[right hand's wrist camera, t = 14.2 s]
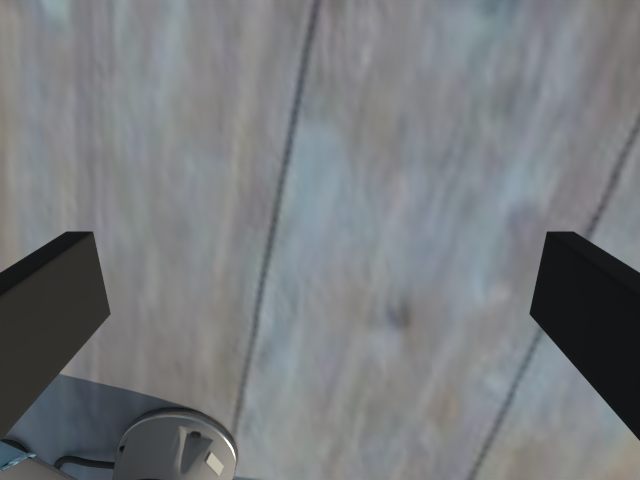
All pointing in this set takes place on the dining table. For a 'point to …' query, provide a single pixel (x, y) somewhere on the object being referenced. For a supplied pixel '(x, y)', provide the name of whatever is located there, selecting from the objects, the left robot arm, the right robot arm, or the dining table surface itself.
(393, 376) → the dining table surface
